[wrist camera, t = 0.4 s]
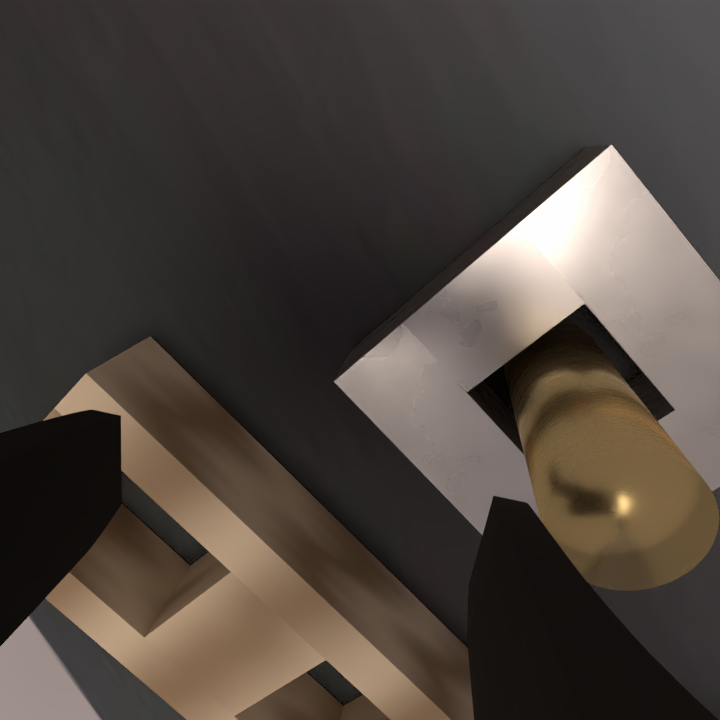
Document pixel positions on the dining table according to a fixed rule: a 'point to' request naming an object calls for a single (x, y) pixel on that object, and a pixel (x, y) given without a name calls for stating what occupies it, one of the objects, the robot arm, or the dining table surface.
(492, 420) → the socket block
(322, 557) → the rack
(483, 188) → the dining table surface
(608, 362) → the tan brown peg
